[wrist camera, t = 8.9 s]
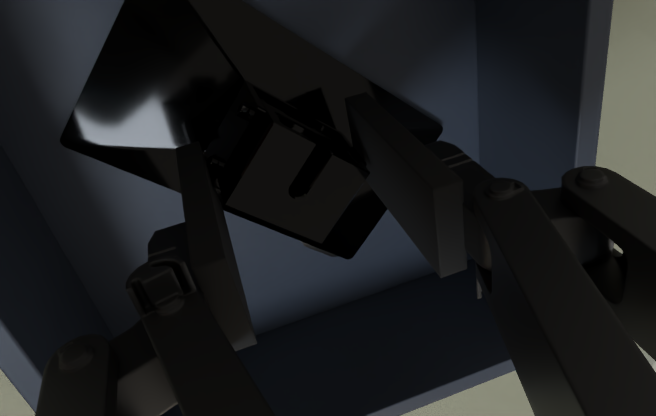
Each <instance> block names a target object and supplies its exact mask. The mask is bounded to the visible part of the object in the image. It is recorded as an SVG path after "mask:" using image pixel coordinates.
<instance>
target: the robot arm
mask: <svg viewBox="0 0 656 416" xmlns="http://www.w3.org/2000/svg"><path fill="white" fill-rule="evenodd" d="M345 104H346V110H347V116H348V121H349V127H350V133H351V138H352V144H353V147H354V149H355V150H356V151H357V152H358V153H359V155H360V156H361V157H362V158H363V160H364V161H365V162H366V164H367V165H366V168H367V169H368V170H369V171H370V174H369V176H368V177H367V179H366V181H367V183H368V184H369V185H370V187H371V188H372V189H373V191H374V192H375V193H376V194H377V196H378V197H379V198H380V200H381V201H382V202H383V204H384V205H385V206H386V207H387V209H388V210H389V211H390V213H391V214H392V215H393V217H394V218H395V219H396V221H397V222H398V223H399V224H400V226H401V227H402V228H403V230H404V231H405V232H406V234H407V235H408V236H409V237H410V239H411V240H412V241H413V243H414V244H415V245H416V247H417V248H418V249H419V250H420V252H421V253H422V254H423V256H424V257H425V258H426V260H427V261H428V262H429V264H430V265H431V266H432V267H433V269H434V270H435V271H436V273H437V274H438V275H439V277H440V278H443V277H446V276H448V275H451V274H454V273H457V272H460V271H463V270H465V269H467V252H468V253H469V254H470V256H471V257H472V258H473V259H474V260H475V263H476V290H477V299H480V298H482V294H481V292H482V291H483V294H484V296H485V298H486V301H487V303H488V305H489V308H490V310H491V313H492V315H493V317H494V320H495V322H496V324H497V327H498V329H499V332H500V334H501V336H502V339H503V341H504V343H505V346H506V348H507V351H508V353H509V355H510V358H511V360H512V362H513V365H514V367H515V370H516V372H517V374H518V377H519V379H520V381H521V384H522V386H523V389H524V391H525V393H526V396H527V398H528V400H529V403H530V405H531V408H532V410H533V412H534V415H535V416H656V372H655V371H654V369H653V368H652V366H651V365H650V364H649V362H648V361H647V359H646V358H645V356H644V355H643V353H642V352H641V351H640V349H639V348H638V346H637V345H636V343H637V344H638V345H639V346H640V347H641V348H642V349H643V350H644V351H646V352H647V353H648V354H649V355H650V356H651V357H652V358H653V359H654V360H655V361H656V197H655V196H654V195H652V194H650V193H649V192H647V191H645V190H644V189H642V188H640V187H639V186H637V185H636V184H634V183H632V182H631V181H629V180H627V179H626V178H624V177H622V176H621V175H619V174H617V173H616V172H614V171H611V170H609V169H607V168H602V167H597V166H582V167H577V168H573V169H571V170H569V171H567V172H565V174H564V175H563V176H562V178H561V187H559V188H551V189H543V190H529V188H528V187H527V186H526V185H525V184H524V183H522V182H520V181H518V180H515V179H511V178H503V177H502V178H495V177H494V176H493V175H491V174H490V173H489V172H488V171H486V170H485V169H484V168H483V167H482V166H480V165H479V164H478V163H477V162H475V161H474V160H472V158H471V157H469V156H468V155H467V154H465V153H464V152H463V151H462V150H461V149H460V148H458V147H457V146H456V145H454V144H451V143H448V142H445V141H442V140H439V141H436V142H432V143H429V144H426V145H424V144H423V143H422V142H420V141H419V140H418V139H417V138H416V137H415V136H414V135H413V134H412V133H410V132H409V131H408V130H407V129H406V128H405V127H404V126H403V125H402V124H401V123H399V122H398V121H397V120H396V119H395V118H394V117H393V116H392V115H391V114H390V113H388V112H387V111H386V110H385V109H384V108H383V107H382V106H381V105H380V104H378V103H377V102H376V101H375V100H374V99H373V98H372V97H371V96H370V95H369V94H367V93H366V92H364V93H361V94H357V95H354V96H350V97H347V98H345ZM175 149H176V157H177V165H178V172H179V180H180V187H181V195H182V203H183V210H184V218H185V222H183V223H179V224H176V225H173V226H170V227H167V228H164V229H160V230H157V231H155V232H154V234H153V235H152V237H151V239H150V241H149V242H148V262H146V263H144V264H143V265H141V266H139V267H138V268H137V269H136V270H135V271H134V272H133V273H132V274H131V275H130V276H129V278H128V280H127V282H126V291H127V293H128V295H129V297H130V299H131V301H132V303H133V305H134V307H135V308H136V310H137V312H138V314H139V316H140V318H141V319H140V320H139V321H138V322H137V323H136V324H135V325H134V326H133V327H131V328H130V329H128V330H127V331H125V332H124V333H122V334H120V335H119V336H117V337H115V338H113V339H112V340H110V341H108V340H107V339H106V338H104V337H103V336H102V335H98V334H88V335H83V336H79V337H77V338H75V339H73V340H70V341H68V342H67V343H65V344H64V345H63V346H61V347H60V348H59V349H57V350H56V351H55V352H54V354H53V355H52V356H51V357H50V358H49V359H48V361H47V364H46V366H45V369H44V372H43V378H42V383H41V388H40V393H39V398H38V404H37V409H36V414H35V416H160V415H162V414H163V413H165V412H166V411H168V410H169V409H171V408H172V407H174V406H175V405H177V404H178V405H179V407H180V409H181V412H182V414H183V416H276V415H275V414H274V412H273V411H272V409H271V407H270V406H269V404H268V403H267V401H266V399H265V398H264V396H263V395H262V393H261V391H260V390H259V388H258V387H257V385H256V383H255V382H254V380H253V379H252V377H251V375H250V374H249V372H248V371H247V369H246V368H245V366H244V364H243V363H242V361H241V360H240V358H239V356H238V355H237V353H236V352H235V351H238V350H241V349H244V348H246V347H249V346H252V345H255V344H257V341H256V337H255V333H254V329H253V325H252V321H251V317H250V313H249V309H248V305H247V301H246V297H245V294H244V290H243V286H242V282H241V278H240V274H239V270H238V266H237V262H236V258H235V254H234V250H233V246H232V243H231V239H230V235H229V231H228V227H227V223H226V219H225V215H224V211H223V208H222V205H221V203H220V200H219V197H218V194H217V191H216V188H214V187H213V186H212V182H211V178H210V174H209V170H208V168H207V165H206V160H205V157H204V154H203V152H202V149H201V146H200V143H199V141H197V142H194V143H190V144H187V145H184V146H180V147H177V148H175ZM614 243H615V244H617V245H618V246H619V247H620V248H621V249H622V250H623V254H622V253H620V252H618V251H617V250H616V249H614V248H613V246H614ZM466 251H467V252H466ZM634 341H635V342H636V343H635V342H634Z"/></svg>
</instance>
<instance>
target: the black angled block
mask: <svg viewBox="0 0 656 416" xmlns="http://www.w3.org/2000/svg"><path fill="white" fill-rule="evenodd" d="M364 92H366V93H367V94H369V95H370V96H371V97H372V98H373V99H374V100H375V101H376V102H377V103H378V104H380V105H381V106H382V107H383V108H384V109H385V110H386V111H387V112H388V113H390V114H391V115H392V116H393V117H394V118H395V119H396V120H397V121H398V122H399V123H401V124H402V125H403V126H404V127H405V128H406V129H407V130H408V131H409V132H410V133H412V134H413V135H414V136H415V137H416V138H417V139H418V140H419V141H420V142H422V143H423V144H424V145H426V144H429V143H432V142H436V141H437V139H438V138H439V136H440V135H441V134H442V132H443V127H442V126H441V125H440V124H439V123H438V122H436V121H434V120H433V119H431V118H430V117H428V116H427V115H425V114H423V113H422V112H420V111H419V110H417V109H415V108H414V107H412V106H411V105H409V104H407V103H406V102H404V101H403V100H401V99H399V98H398V97H396V96H395V95H393V94H391V93H390V92H388V91H387V90H385V89H383V88H382V87H380V86H379V85H377V84H375V83H374V82H372V81H371V80H369V79H367V78H366V77H364V76H363V75H361V74H359V73H358V72H356V71H355V70H353V69H351V68H350V67H348V66H347V65H345V64H343V63H342V62H340V61H339V60H337V59H336V58H334V57H332V56H331V55H329V54H328V53H326V52H324V51H323V50H321V49H320V48H318V47H316V46H315V45H313V44H312V43H310V42H308V41H307V40H305V39H304V38H302V37H300V36H299V35H297V34H296V33H294V32H292V31H291V30H289V29H288V28H286V27H284V26H283V25H281V24H280V23H278V22H276V21H275V20H273V19H272V18H270V17H268V16H267V15H265V14H264V13H262V12H260V11H259V10H257V9H256V8H254V7H252V6H251V5H249V4H248V3H246V2H245V1H243V0H124V1H123V4H122V6H121V8H120V10H119V12H118V14H117V16H116V19H115V21H114V23H113V25H112V27H111V29H110V31H109V34H108V36H107V38H106V40H105V42H104V44H103V46H102V48H101V51H100V53H99V55H98V57H97V59H96V61H95V63H94V66H93V68H92V70H91V72H90V74H89V76H88V78H87V81H86V83H85V85H84V87H83V89H82V91H81V93H80V96H79V98H78V100H77V102H76V104H75V106H74V108H73V110H72V113H71V115H70V117H69V119H68V121H67V123H66V125H65V128H64V130H63V132H62V134H61V137H60V143H61V144H62V146H64V147H66V148H68V149H71V150H73V151H76V152H78V153H81V154H83V155H86V156H88V157H91V158H93V159H96V160H98V161H101V162H103V163H106V164H108V165H111V166H113V167H116V168H118V169H121V170H123V171H126V172H128V173H131V174H133V175H136V176H138V177H141V178H143V179H146V180H148V181H151V182H153V183H156V184H158V185H161V186H163V187H166V188H168V189H171V190H173V191H176V192H178V193H181V187H180V180H179V172H178V165H177V157H176V149H175V148H177V147H180V146H184V145H187V144H190V143H194V142H197V141H199V143H200V146H201V149H202V152H203V154H204V157H205V160H206V165H207V168H208V170H209V174H210V178H211V182H212V186H213V187H214V188H216V191H217V194H218V197H219V200H220V203H221V205H222V208H223V210H224V211H226V212H229V213H231V214H234V215H236V216H239V217H241V218H244V219H246V220H249V221H251V222H254V223H256V224H259V225H261V226H264V227H266V228H269V229H271V230H274V231H276V232H279V233H281V234H284V235H286V236H289V237H291V238H294V239H296V240H299V241H301V242H302V243H303V245H304V246H305V247H308V248H310V249H313V250H315V251H318V252H320V253H323V254H325V255H328V256H331V257H342V258H344V259H347V260H348V259H352V258H353V257H354V255H355V254H356V253H357V251H358V250H359V248H360V247H361V246H362V244H363V243H364V241H365V240H366V239H367V237H368V236H369V234H370V233H371V232H372V230H373V229H374V227H375V226H376V225H377V223H378V222H379V220H380V219H381V218H382V216H383V215H384V213H385V212H386V211H387V207H386V206H385V205H384V204H383V202H382V201H381V200H380V198H379V197H378V196H377V194H376V193H375V192H374V191H373V189H372V188H371V187H370V185H369V184H368V183H367V181H366V179H367V177H368V176H369V174H370V171H369V170H368V169H367V168H366V165H367V164H366V162H365V161H364V160H363V158H362V157H361V156H360V155H359V153H358V152H357V151H356V150H355V149H354V147H353V144H352V138H351V133H350V127H349V121H348V116H347V110H346V104H345V98H347V97H350V96H354V95H357V94H361V93H364Z"/></svg>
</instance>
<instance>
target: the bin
mask: <svg viewBox="0 0 656 416" xmlns="http://www.w3.org/2000/svg"><path fill="white" fill-rule="evenodd" d="M123 1H124V0H0V369H1V370H2V371H3V372H4V374H5V375H6V376H7V378H8V379H9V380H10V381H11V383H12V384H13V385H14V386H15V388H16V389H17V390H18V391H19V393H20V394H21V395H22V397H23V398H24V399H25V400H26V402H27V403H28V404H29V405H30V407H31V408H32V409H33V410H34V412H35V413H36V409H37V404H38V398H39V393H40V388H41V383H42V378H43V372H44V369H45V366H46V364H47V361H48V359H49V358H50V357H51V356H52V355H53V354H54V352H55V351H56V350H57V349H59V348H60V347H61V346H63V345H64V344H65V343H67V342H68V341H70V340H73V339H75V338H77V337H79V336H83V335H88V334H98V335H102V336H103V337H104V338H106V339H107V340H108V341H110V340H112V339H113V338H115V337H117V336H119V335H120V334H122V333H124V332H125V331H127V330H128V329H130V328H131V327H133V326H134V325H135V324H136V323H137V322H138V321H139V320H140V319H141V318H140V316H139V314H138V312H137V310H136V308H135V307H134V305H133V303H132V301H131V299H130V297H129V295H128V293H127V291H126V282H127V280H128V278H129V276H130V275H131V274H132V273H133V272H134V271H135V270H136V269H137V268H138V267H139V266H141V265H143V264H144V263H146V262H148V242H149V241H150V239H151V237H152V235H153V234H154V232H155V231H157V230H160V229H164V228H167V227H170V226H173V225H176V224H179V223H183V222H185V218H184V210H183V203H182V195H181V193H178V192H176V191H173V190H171V189H168V188H166V187H163V186H161V185H158V184H156V183H153V182H151V181H148V180H146V179H143V178H141V177H138V176H136V175H133V174H131V173H128V172H126V171H123V170H121V169H118V168H116V167H113V166H111V165H108V164H106V163H103V162H101V161H98V160H96V159H93V158H91V157H88V156H86V155H83V154H81V153H78V152H76V151H73V150H71V149H68V148H66V147H64V146H62V144H61V143H60V137H61V134H62V132H63V130H64V128H65V125H66V123H67V121H68V119H69V117H70V115H71V113H72V110H73V108H74V106H75V104H76V102H77V100H78V98H79V96H80V93H81V91H82V89H83V87H84V85H85V83H86V81H87V78H88V76H89V74H90V72H91V70H92V68H93V66H94V63H95V61H96V59H97V57H98V55H99V53H100V51H101V48H102V46H103V44H104V42H105V40H106V38H107V36H108V34H109V31H110V29H111V27H112V25H113V23H114V21H115V19H116V16H117V14H118V12H119V10H120V8H121V6H122V4H123ZM243 1H245V2H246V3H248V4H249V5H251V6H252V7H254V8H256V9H257V10H259V11H260V12H262V13H264V14H265V15H267V16H268V17H270V18H272V19H273V20H275V21H276V22H278V23H280V24H281V25H283V26H284V27H286V28H288V29H289V30H291V31H292V32H294V33H296V34H297V35H299V36H300V37H302V38H304V39H305V40H307V41H308V42H310V43H312V44H313V45H315V46H316V47H318V48H320V49H321V50H323V51H324V52H326V53H328V54H329V55H331V56H332V57H334V58H336V59H337V60H339V61H340V62H342V63H343V64H345V65H347V66H348V67H350V68H351V69H353V70H355V71H356V72H358V73H359V74H361V75H363V76H364V77H366V78H367V79H369V80H371V81H372V82H374V83H375V84H377V85H379V86H380V87H382V88H383V89H385V90H387V91H388V92H390V93H391V94H393V95H395V96H396V97H398V98H399V99H401V100H403V101H404V102H406V103H407V104H409V105H411V106H412V107H414V108H415V109H417V110H419V111H420V112H422V113H423V114H425V115H427V116H428V117H430V118H431V119H433V120H434V121H436V122H438V123H439V124H440V125H441V126H442V127H443V132H442V134H441V135H440V136H439V138H438V139H437V141H439V140H442V141H445V142H448V143H451V144H454V145H456V146H457V147H458V148H460V149H461V150H462V151H463V152H464V153H465V154H467V155H468V156H469V157H471V158H472V160H474V161H475V162H477V163H478V164H479V165H480V166H482V167H483V168H484V169H485V170H486V171H488V172H489V173H490V174H491V175H493V176H494V177H495V178H502V177H503V178H511V179H515V180H518V181H520V182H522V183H524V184H525V185H526V186H527V187H528V188H529V190H543V189H551V188H559V187H561V178H562V176H563V175H564V174H565V172H567V171H569V170H571V169H573V168H577V167H582V166H595V164H596V154H597V145H598V136H599V127H600V118H601V109H602V100H603V91H604V81H605V72H606V63H607V54H608V45H609V36H610V27H611V18H612V9H613V0H243ZM223 211H224V210H223ZM224 215H225V219H226V223H227V227H228V231H229V235H230V239H231V243H232V246H233V250H234V254H235V258H236V262H237V266H238V270H239V274H240V278H241V282H242V286H243V290H244V294H245V297H246V301H247V305H248V309H249V313H250V317H251V321H252V325H253V329H254V333H255V337H256V341H257V344H255V345H252V346H249V347H246V348H244V349H241V350H238V351H235V352H236V353H237V355H238V356H239V358H240V360H241V361H242V363H243V364H244V366H245V368H246V369H247V371H248V372H249V374H250V375H251V377H252V379H253V380H254V382H255V383H256V385H257V387H258V388H259V390H260V391H261V393H262V395H263V396H264V398H265V399H266V401H267V403H268V404H269V406H270V407H271V409H272V411H273V412H274V414H275V415H276V416H400V415H402V414H405V413H408V412H410V411H413V410H415V409H418V408H420V407H423V406H425V405H428V404H431V403H433V402H436V401H438V400H441V399H443V398H446V397H448V396H451V395H453V394H456V393H459V392H461V391H464V390H466V389H469V388H471V387H474V386H476V385H479V384H481V383H484V382H487V381H489V380H492V379H494V378H497V377H499V376H502V375H504V374H507V373H510V372H512V371H515V367H514V365H513V362H512V360H511V358H510V355H509V353H508V351H507V348H506V346H505V343H504V341H503V339H502V336H501V334H500V332H499V329H498V327H497V324H496V322H495V320H494V317H493V315H492V313H491V310H490V308H489V305H488V303H487V301H486V298H485V296H484V294H483V291H482V292H481V294H482V298H480V299H477V290H476V263H475V260H474V259H473V258H472V257H471V256H470V254H469V253H468V252H467V251H466V252H467V269H465V270H463V271H460V272H457V273H454V274H451V275H448V276H446V277H443V278H440V277H439V275H438V274H437V273H436V271H435V270H434V269H433V267H432V266H431V265H430V264H429V262H428V261H427V260H426V258H425V257H424V256H423V254H422V253H421V252H420V250H419V249H418V248H417V247H416V245H415V244H414V243H413V241H412V240H411V239H410V237H409V236H408V235H407V234H406V232H405V231H404V230H403V228H402V227H401V226H400V224H399V223H398V222H397V221H396V219H395V218H394V217H393V215H392V214H391V213H390V211H389V210H388V209H387V211H386V212H385V213H384V215H383V216H382V218H381V219H380V220H379V222H378V223H377V225H376V226H375V227H374V229H373V230H372V232H371V233H370V234H369V236H368V237H367V239H366V240H365V241H364V243H363V244H362V246H361V247H360V248H359V250H358V251H357V253H356V254H355V255H354V257H353V258H352V259H348V260H347V259H344V258H342V257H331V256H328V255H325V254H323V253H320V252H318V251H315V250H313V249H310V248H308V247H305V246H304V245H303V243H302V242H301V241H299V240H296V239H294V238H291V237H289V236H286V235H284V234H281V233H279V232H276V231H274V230H271V229H269V228H266V227H264V226H261V225H259V224H256V223H254V222H251V221H249V220H246V219H244V218H241V217H239V216H236V215H234V214H231V213H229V212H226V211H224ZM160 416H183V414H182V412H181V409H180V407H179V405H178V404H177V405H175V406H174V407H172V408H171V409H169V410H168V411H166V412H165V413H163V414H162V415H160Z"/></svg>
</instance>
